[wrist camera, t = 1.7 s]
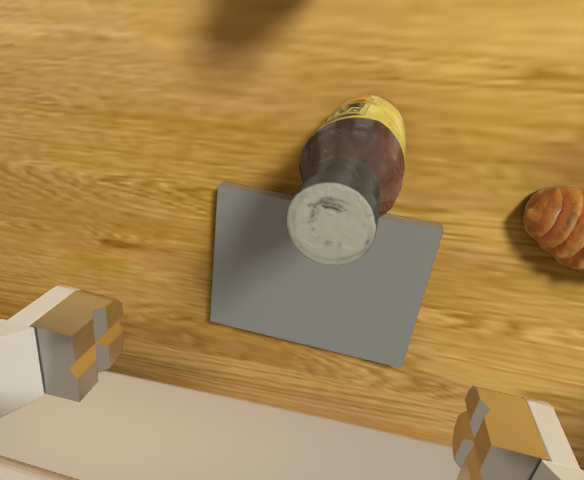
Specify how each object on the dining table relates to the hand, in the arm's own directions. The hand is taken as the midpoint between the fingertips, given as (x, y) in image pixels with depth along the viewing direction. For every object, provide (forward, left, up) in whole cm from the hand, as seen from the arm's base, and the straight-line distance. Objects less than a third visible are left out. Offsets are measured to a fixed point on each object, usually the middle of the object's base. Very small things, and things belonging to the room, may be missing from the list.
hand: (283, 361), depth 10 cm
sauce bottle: (0, 0, -30) cm, 30 cm away
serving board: (+2, +14, -29) cm, 33 cm away
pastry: (-19, +5, -30) cm, 36 cm away
